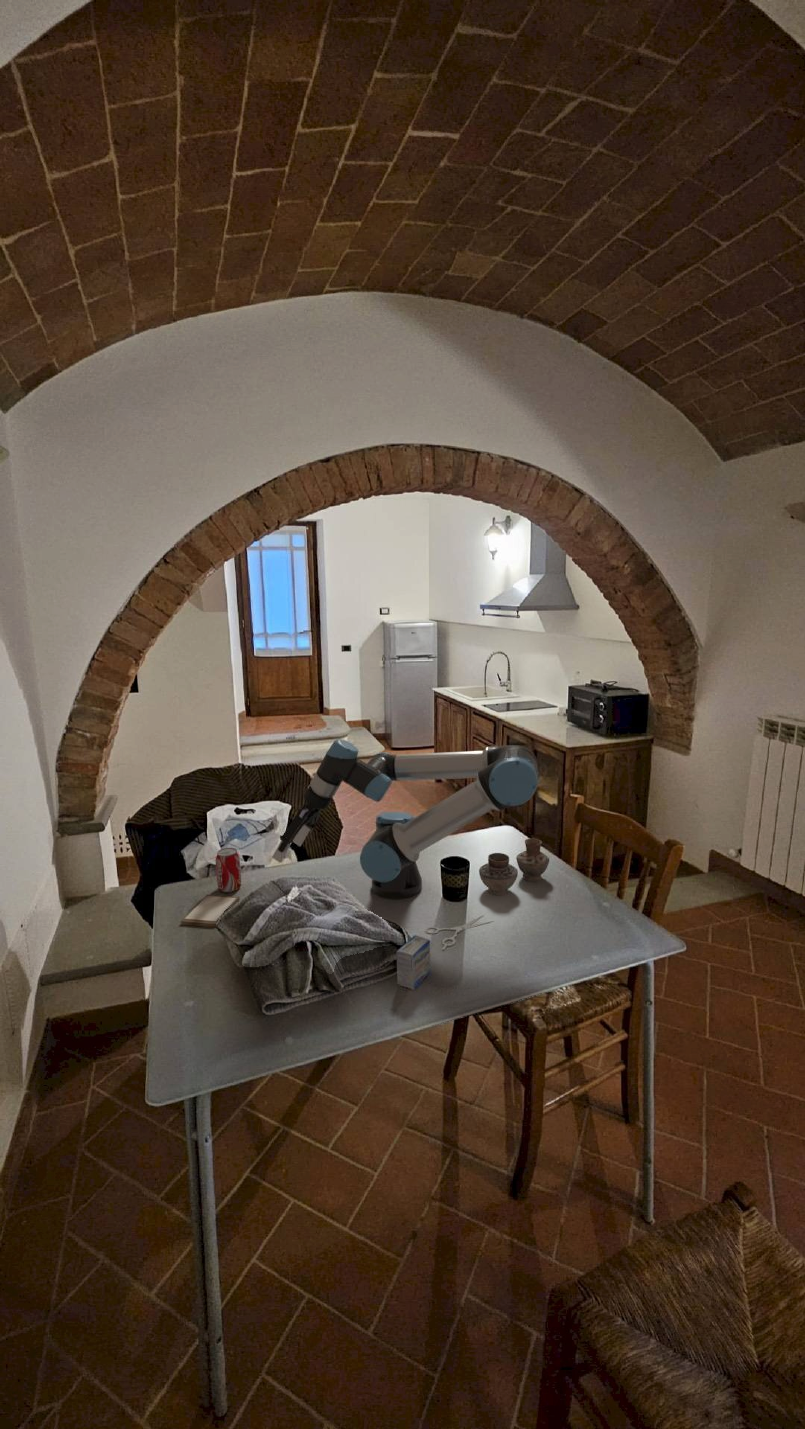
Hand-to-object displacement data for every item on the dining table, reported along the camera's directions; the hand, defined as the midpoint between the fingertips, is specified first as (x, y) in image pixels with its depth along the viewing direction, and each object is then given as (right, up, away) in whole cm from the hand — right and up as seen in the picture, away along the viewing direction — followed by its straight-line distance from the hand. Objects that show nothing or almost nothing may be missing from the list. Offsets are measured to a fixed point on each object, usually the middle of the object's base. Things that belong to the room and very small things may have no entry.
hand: (286, 851), depth 177 cm
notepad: (-21, -17, -2) cm, 27 cm away
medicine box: (+36, -22, -33) cm, 54 cm away
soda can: (-19, -14, +12) cm, 27 cm away
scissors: (+48, -18, -13) cm, 53 cm away
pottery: (+67, -13, +12) cm, 69 cm away
